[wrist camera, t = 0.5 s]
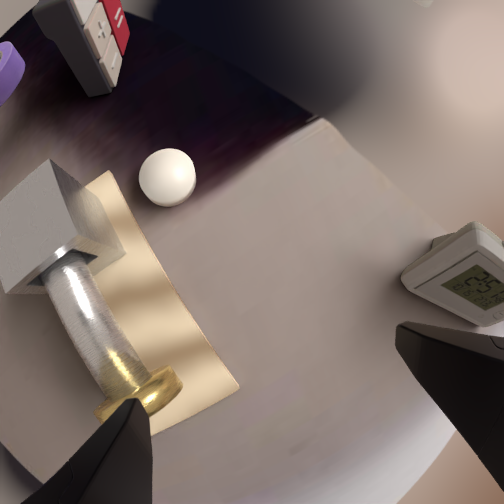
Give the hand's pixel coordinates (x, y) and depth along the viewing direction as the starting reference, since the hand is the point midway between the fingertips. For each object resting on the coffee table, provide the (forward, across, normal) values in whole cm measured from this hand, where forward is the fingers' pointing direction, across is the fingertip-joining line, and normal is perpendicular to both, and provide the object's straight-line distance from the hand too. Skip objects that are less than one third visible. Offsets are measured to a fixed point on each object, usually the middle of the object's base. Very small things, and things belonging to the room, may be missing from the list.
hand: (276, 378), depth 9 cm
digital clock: (+15, -23, +9) cm, 29 cm away
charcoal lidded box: (+27, +9, -24) cm, 37 cm away
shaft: (+14, +11, 0) cm, 18 cm away
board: (+17, +11, +3) cm, 20 cm away
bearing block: (+18, +13, -3) cm, 22 cm away
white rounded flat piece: (+21, +4, -7) cm, 22 cm away
